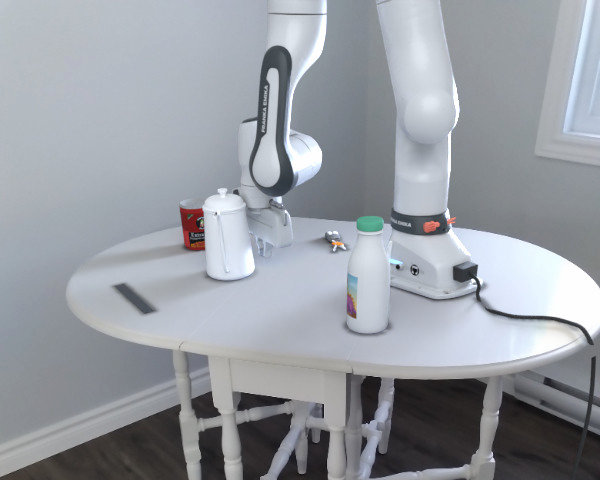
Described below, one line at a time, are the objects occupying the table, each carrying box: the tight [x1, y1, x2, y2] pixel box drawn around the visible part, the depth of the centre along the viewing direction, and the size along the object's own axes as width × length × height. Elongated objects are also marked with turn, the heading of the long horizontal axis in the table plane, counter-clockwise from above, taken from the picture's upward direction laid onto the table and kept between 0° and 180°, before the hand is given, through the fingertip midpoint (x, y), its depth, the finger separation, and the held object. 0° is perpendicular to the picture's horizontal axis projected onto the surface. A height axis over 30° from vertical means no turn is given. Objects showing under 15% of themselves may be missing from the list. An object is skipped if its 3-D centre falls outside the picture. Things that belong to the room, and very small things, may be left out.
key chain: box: [324, 230, 347, 253], centre depth 160 cm, size 13×4×2 cm, turn 9°
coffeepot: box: [202, 187, 255, 281], centre depth 139 cm, size 11×25×19 cm, turn 179°
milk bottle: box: [346, 215, 391, 335], centre depth 114 cm, size 8×8×20 cm
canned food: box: [178, 197, 207, 251], centre depth 159 cm, size 8×8×11 cm
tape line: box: [114, 283, 155, 314], centre depth 134 cm, size 18×2×1 cm, turn 33°
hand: (265, 256), depth 147 cm, fingers closed
